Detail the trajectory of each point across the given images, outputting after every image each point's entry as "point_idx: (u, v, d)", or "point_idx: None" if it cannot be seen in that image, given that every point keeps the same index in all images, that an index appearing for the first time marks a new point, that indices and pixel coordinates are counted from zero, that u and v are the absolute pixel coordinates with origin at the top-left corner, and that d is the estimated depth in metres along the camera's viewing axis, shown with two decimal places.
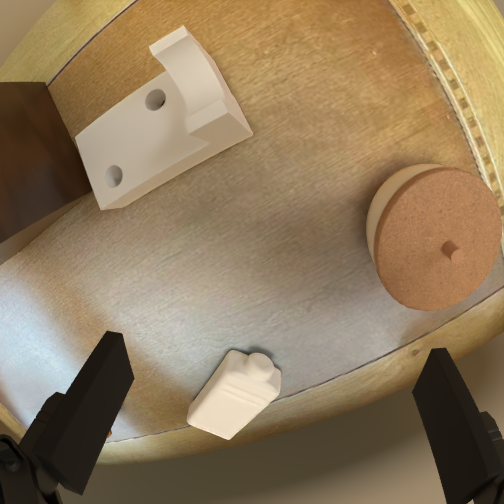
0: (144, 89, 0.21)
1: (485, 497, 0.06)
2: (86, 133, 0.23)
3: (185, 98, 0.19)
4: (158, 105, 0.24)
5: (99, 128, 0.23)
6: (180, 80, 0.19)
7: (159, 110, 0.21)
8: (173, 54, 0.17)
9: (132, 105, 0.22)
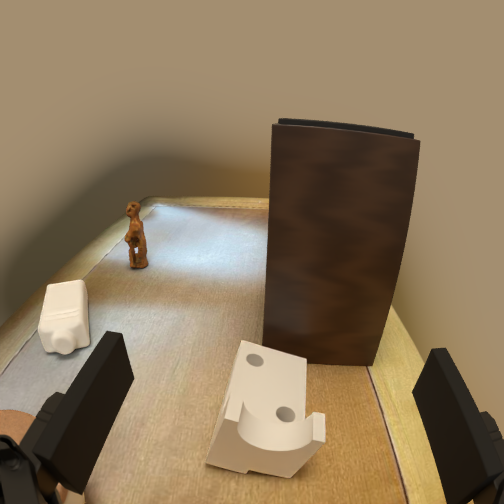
0: (301, 414, 0.25)
1: (485, 497, 0.06)
2: (301, 366, 0.31)
3: (265, 422, 0.22)
4: (283, 422, 0.26)
5: (297, 374, 0.30)
6: (282, 427, 0.22)
7: (274, 411, 0.25)
8: (305, 428, 0.20)
9: (294, 400, 0.27)
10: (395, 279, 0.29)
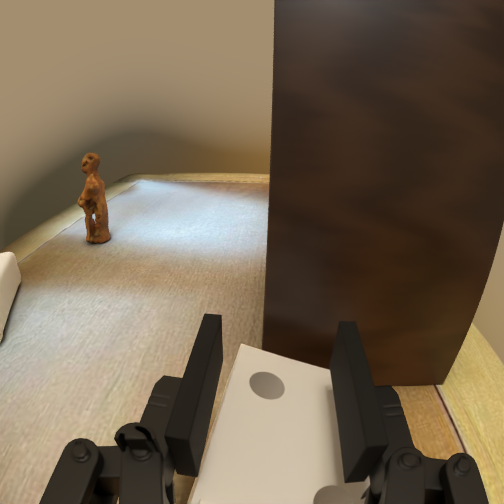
0: None
1: (375, 480, 0.08)
2: None
3: None
4: None
5: None
6: None
7: (310, 500, 0.09)
8: None
9: None
10: (499, 228, 0.14)
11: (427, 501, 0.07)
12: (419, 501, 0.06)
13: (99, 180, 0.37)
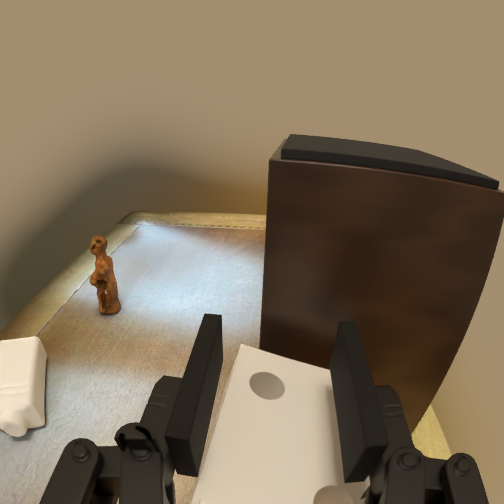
0: None
1: (375, 480, 0.08)
2: None
3: None
4: None
5: None
6: None
7: (310, 500, 0.09)
8: None
9: None
10: (438, 384, 0.18)
11: (427, 501, 0.07)
12: (419, 501, 0.06)
13: (108, 260, 0.42)
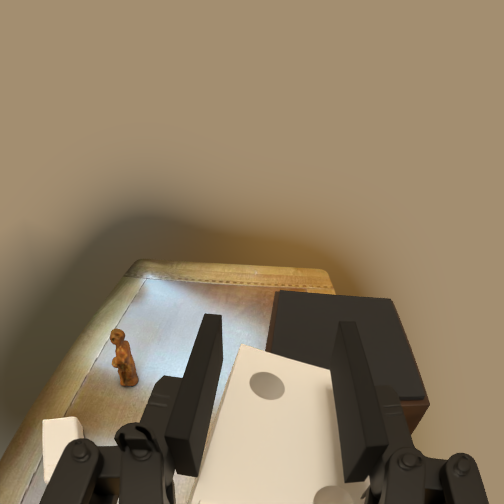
0: None
1: (375, 480, 0.08)
2: None
3: None
4: None
5: None
6: None
7: (310, 500, 0.09)
8: None
9: None
10: None
11: (427, 501, 0.07)
12: (419, 501, 0.06)
13: (126, 347, 0.48)
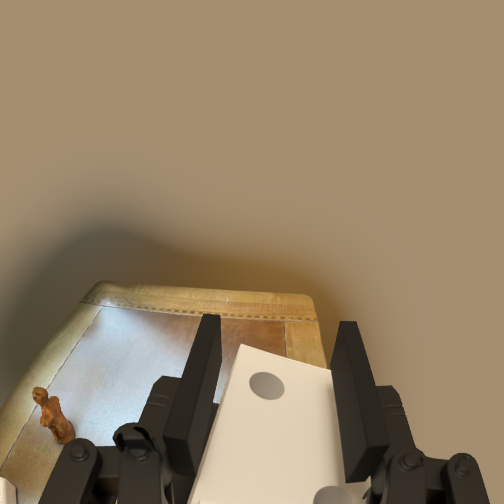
0: None
1: (376, 480, 0.08)
2: None
3: None
4: None
5: None
6: None
7: (310, 500, 0.09)
8: None
9: None
10: None
11: (429, 501, 0.07)
12: (420, 501, 0.06)
13: (52, 406, 0.34)
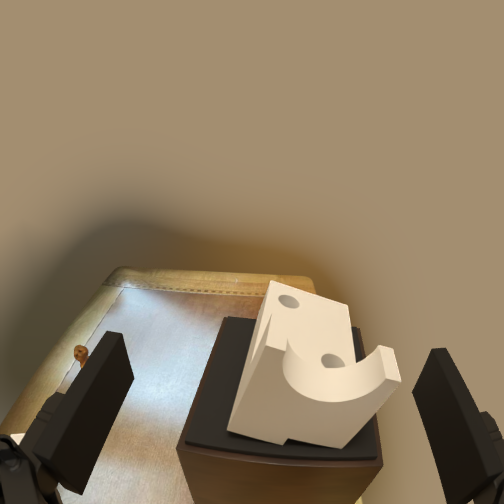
0: (351, 363, 0.20)
1: (485, 497, 0.06)
2: (343, 311, 0.26)
3: (313, 366, 0.17)
4: None
5: (339, 319, 0.25)
6: (337, 372, 0.17)
7: (319, 359, 0.20)
8: (370, 368, 0.15)
9: (341, 347, 0.22)
10: None
11: None
12: None
13: None
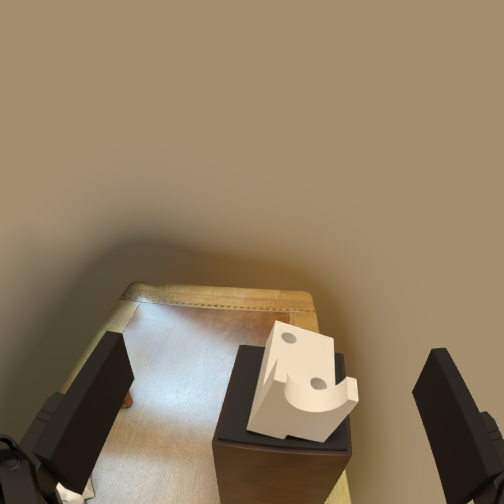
0: (331, 384, 0.29)
1: (485, 497, 0.06)
2: (329, 344, 0.35)
3: (304, 388, 0.26)
4: None
5: (326, 351, 0.33)
6: (319, 392, 0.25)
7: (309, 381, 0.29)
8: (340, 391, 0.24)
9: (325, 372, 0.30)
10: (322, 503, 0.30)
11: None
12: None
13: None
